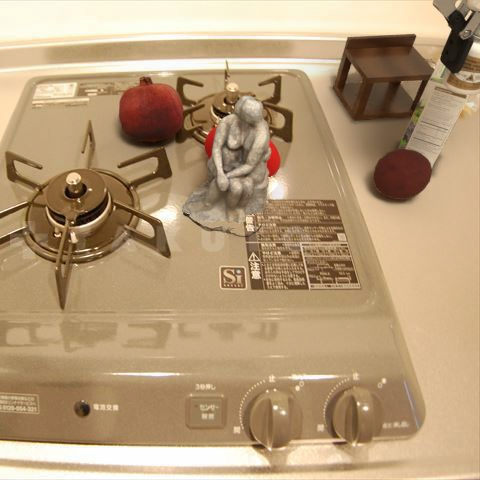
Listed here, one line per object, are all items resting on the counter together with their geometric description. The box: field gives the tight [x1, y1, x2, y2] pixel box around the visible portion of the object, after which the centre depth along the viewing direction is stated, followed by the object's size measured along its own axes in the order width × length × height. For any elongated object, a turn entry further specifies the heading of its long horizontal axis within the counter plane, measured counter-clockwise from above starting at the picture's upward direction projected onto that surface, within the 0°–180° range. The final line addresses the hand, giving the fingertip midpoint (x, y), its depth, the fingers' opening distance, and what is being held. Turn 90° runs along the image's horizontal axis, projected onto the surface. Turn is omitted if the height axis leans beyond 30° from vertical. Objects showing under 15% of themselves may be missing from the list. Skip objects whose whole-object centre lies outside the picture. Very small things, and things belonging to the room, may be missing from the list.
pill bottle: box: [442, 23, 480, 96], centre depth 60 cm, size 4×4×8 cm
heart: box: [204, 125, 282, 178], centre depth 79 cm, size 12×5×10 cm, turn 62°
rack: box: [332, 33, 435, 121], centre depth 93 cm, size 12×10×10 cm
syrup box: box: [396, 62, 470, 169], centre depth 81 cm, size 6×6×14 cm
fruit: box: [118, 76, 185, 143], centre depth 85 cm, size 11×10×10 cm
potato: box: [372, 148, 433, 200], centre depth 78 cm, size 7×8×7 cm
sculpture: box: [181, 95, 271, 234], centre depth 71 cm, size 11×18×12 cm
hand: (471, 63), depth 61 cm, fingers closed on pill bottle, 4 cm apart
